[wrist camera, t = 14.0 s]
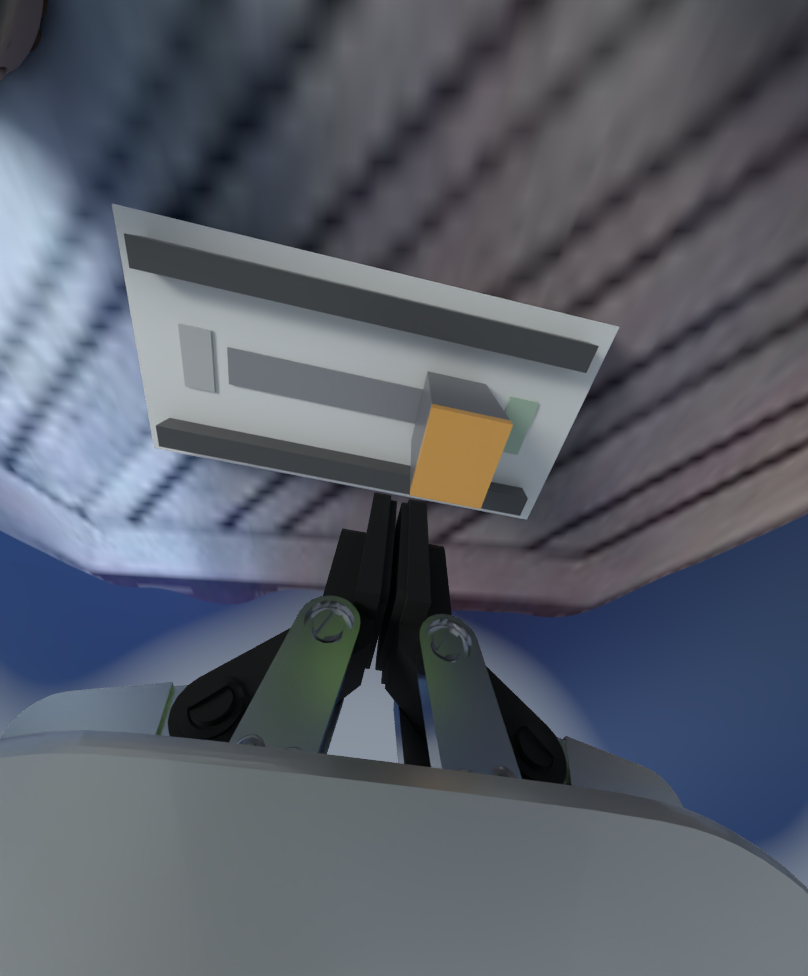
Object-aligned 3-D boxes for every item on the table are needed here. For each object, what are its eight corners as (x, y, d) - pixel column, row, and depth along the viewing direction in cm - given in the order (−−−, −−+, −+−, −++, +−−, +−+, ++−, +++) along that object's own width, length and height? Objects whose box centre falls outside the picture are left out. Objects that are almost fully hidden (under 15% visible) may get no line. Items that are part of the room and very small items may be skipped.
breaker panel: (147, 212, 22) (87, 197, 18) (597, 321, 24) (633, 330, 20) (177, 433, 29) (140, 457, 25) (517, 500, 32) (532, 531, 28)
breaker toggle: (427, 371, 23) (432, 407, 17) (485, 384, 23) (513, 424, 17) (411, 440, 26) (409, 495, 19) (464, 451, 26) (480, 508, 19)
